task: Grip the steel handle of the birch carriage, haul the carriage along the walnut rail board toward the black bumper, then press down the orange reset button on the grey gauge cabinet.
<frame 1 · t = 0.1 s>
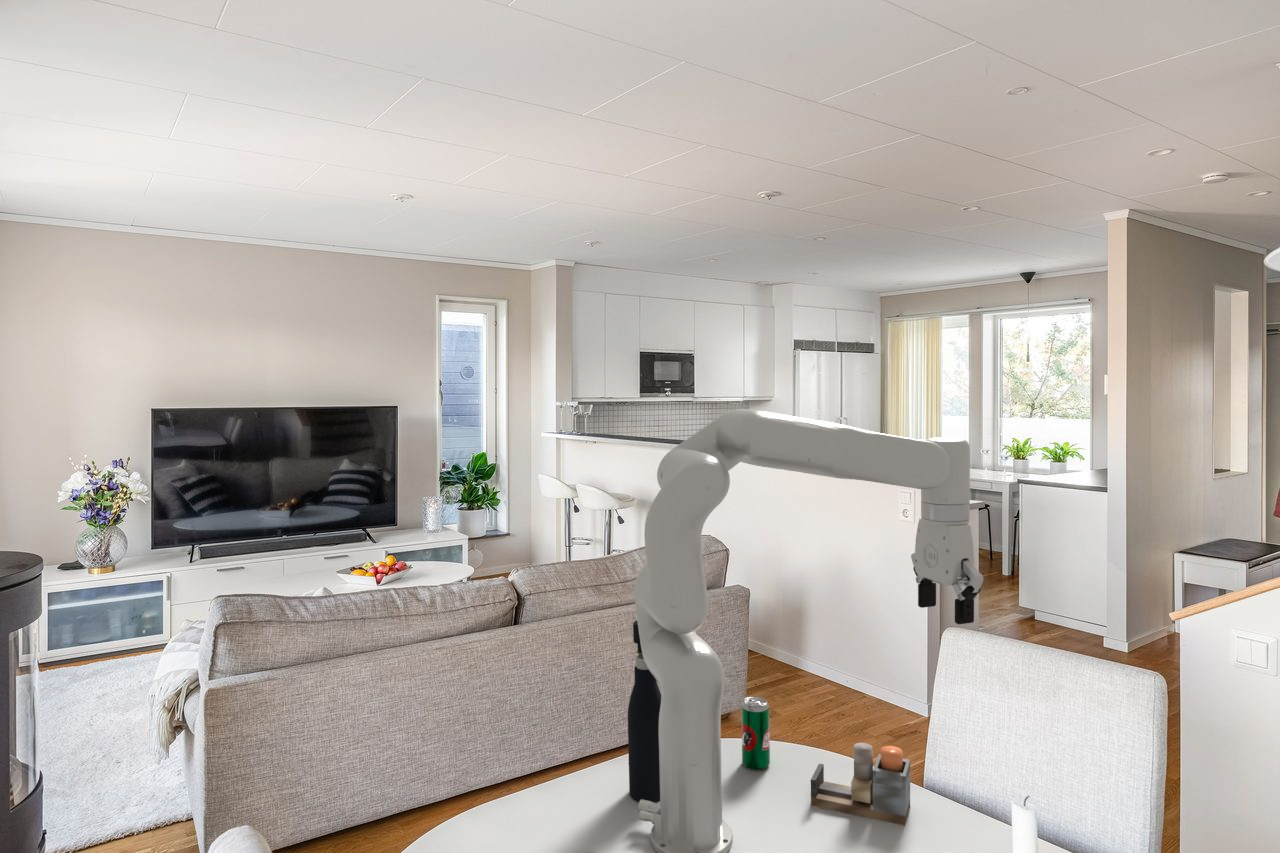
hand: (945, 614, 134), 31 cm above the table, tool pointing down, fingers open, 9 cm apart
reset button: (891, 758, 130), point 9 cm above the table, slide at 0.0 cm
wine bottle: (648, 794, 139), on the table
soda can: (756, 766, 148), on the table
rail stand: (860, 806, 133), on the table
carriage: (863, 770, 132), point 6 cm above the table, slide at 0.0 cm
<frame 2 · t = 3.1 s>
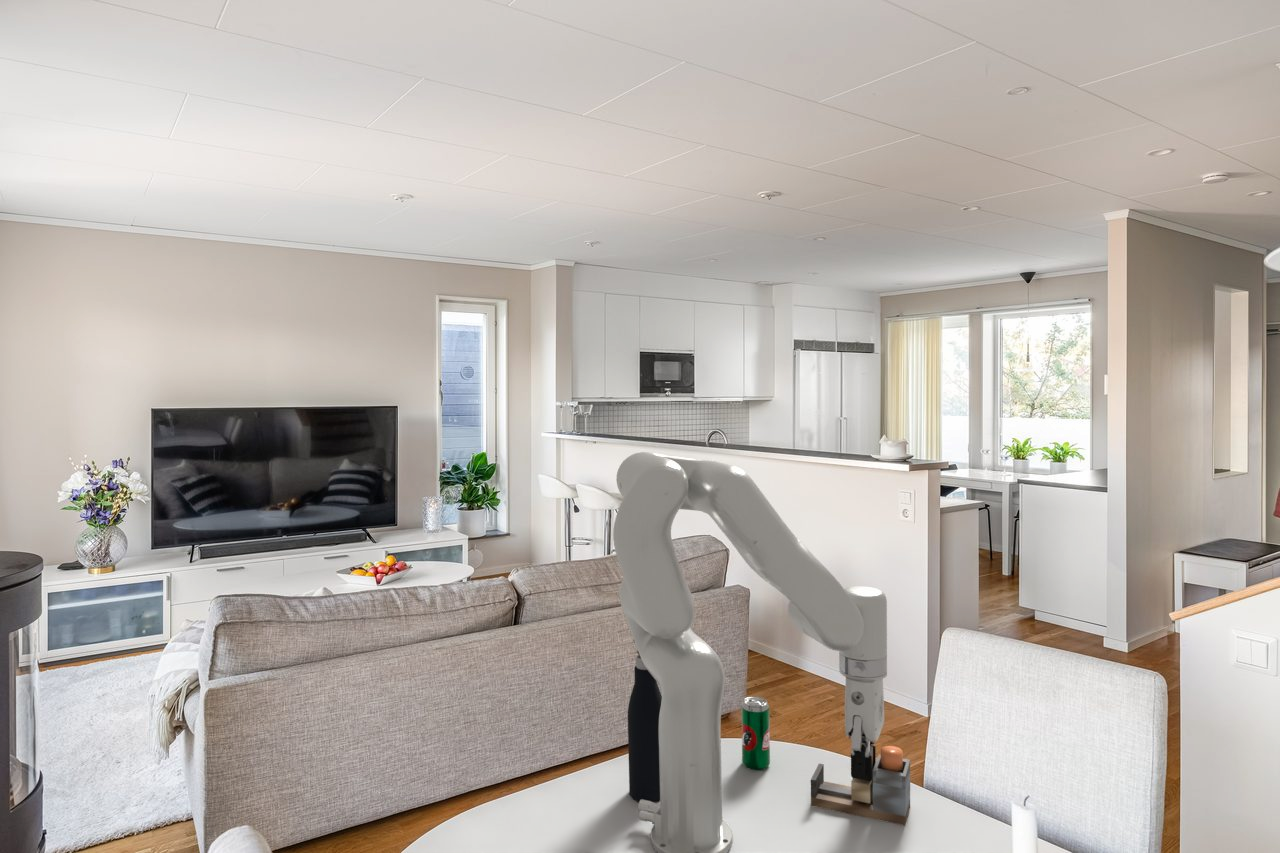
hand: (863, 772, 132), 6 cm above the table, tool pointing down, fingers closed on carriage, 3 cm apart
carriage: (863, 770, 132), point 6 cm above the table, slide at 0.0 cm, touching gripper
everything else where it was.
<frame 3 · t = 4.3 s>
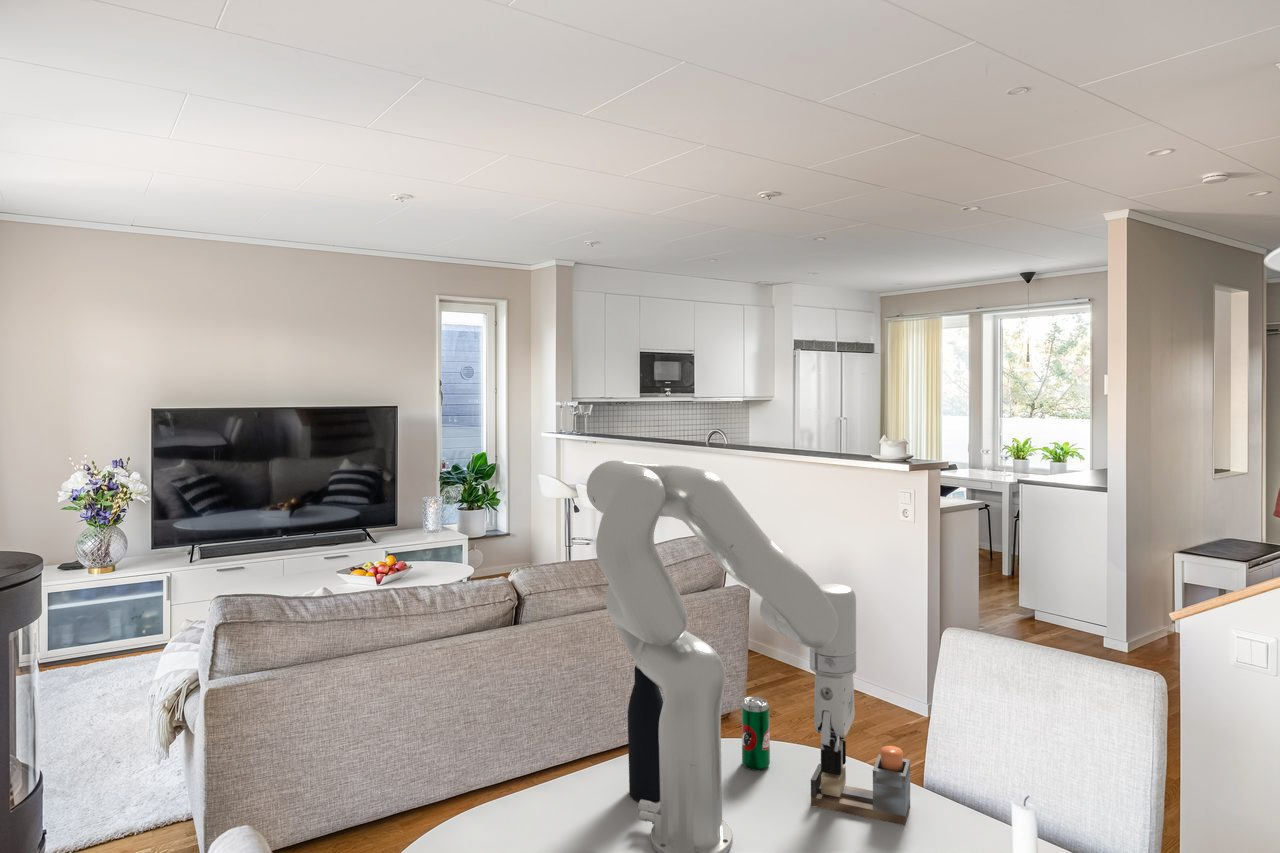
hand: (833, 766, 134), 6 cm above the table, tool pointing down, fingers closed on carriage, 3 cm apart
carriage: (833, 765, 134), point 6 cm above the table, slide at 4.9 cm, touching gripper
everything else where it was.
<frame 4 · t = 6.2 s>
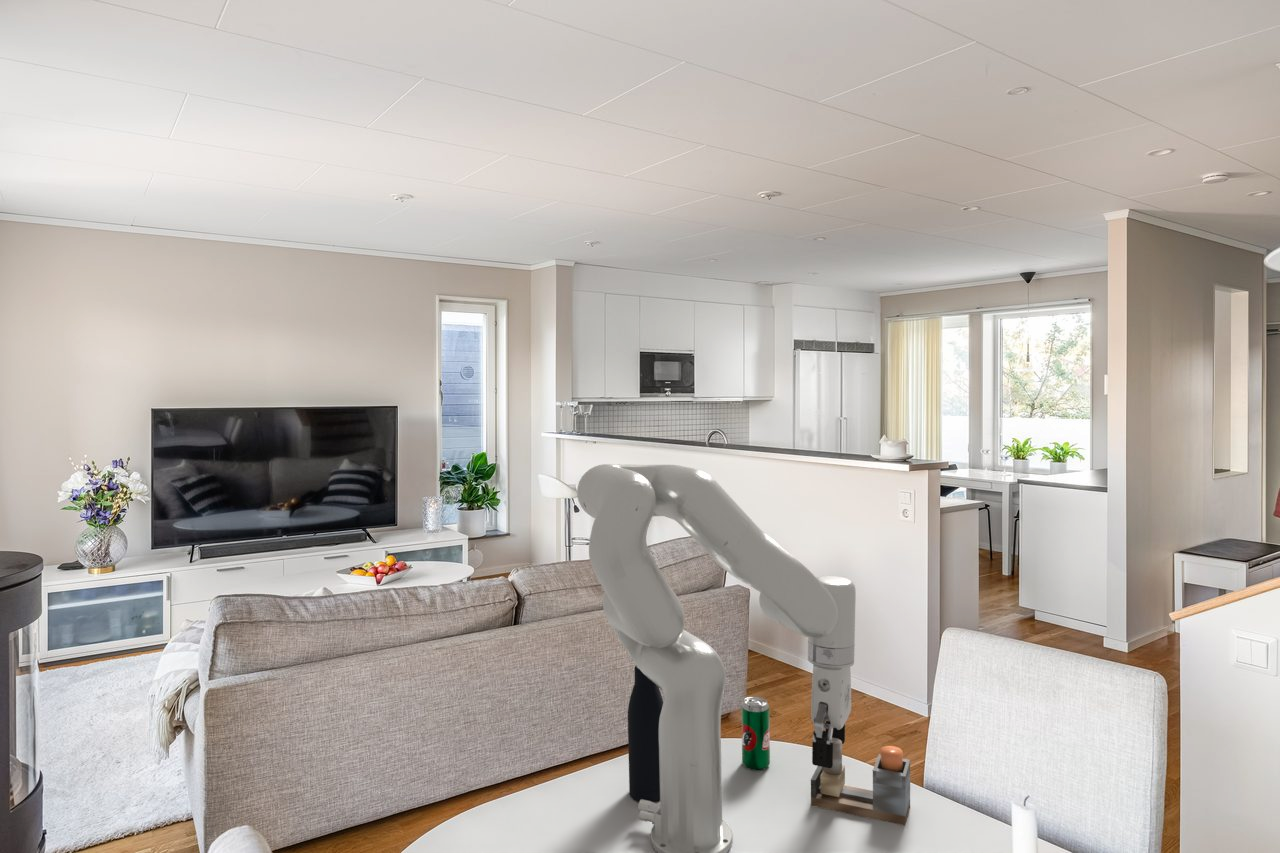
hand: (828, 753, 134), 8 cm above the table, tool pointing down, fingers open, 9 cm apart
carriage: (832, 764, 135), point 6 cm above the table, slide at 5.0 cm
everything else where it was.
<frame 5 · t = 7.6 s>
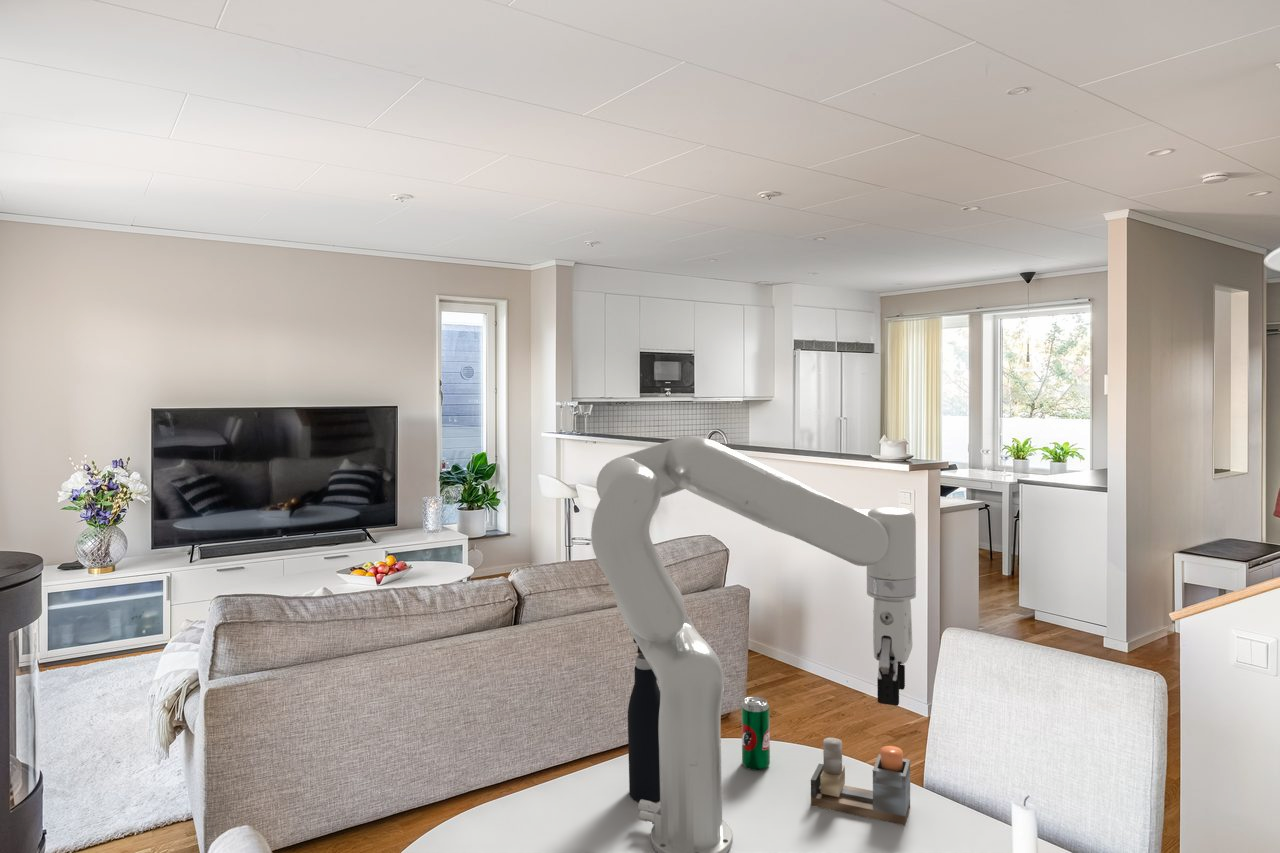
hand: (891, 694, 130), 20 cm above the table, tool pointing down, fingers open, 6 cm apart
nothing on the table moved.
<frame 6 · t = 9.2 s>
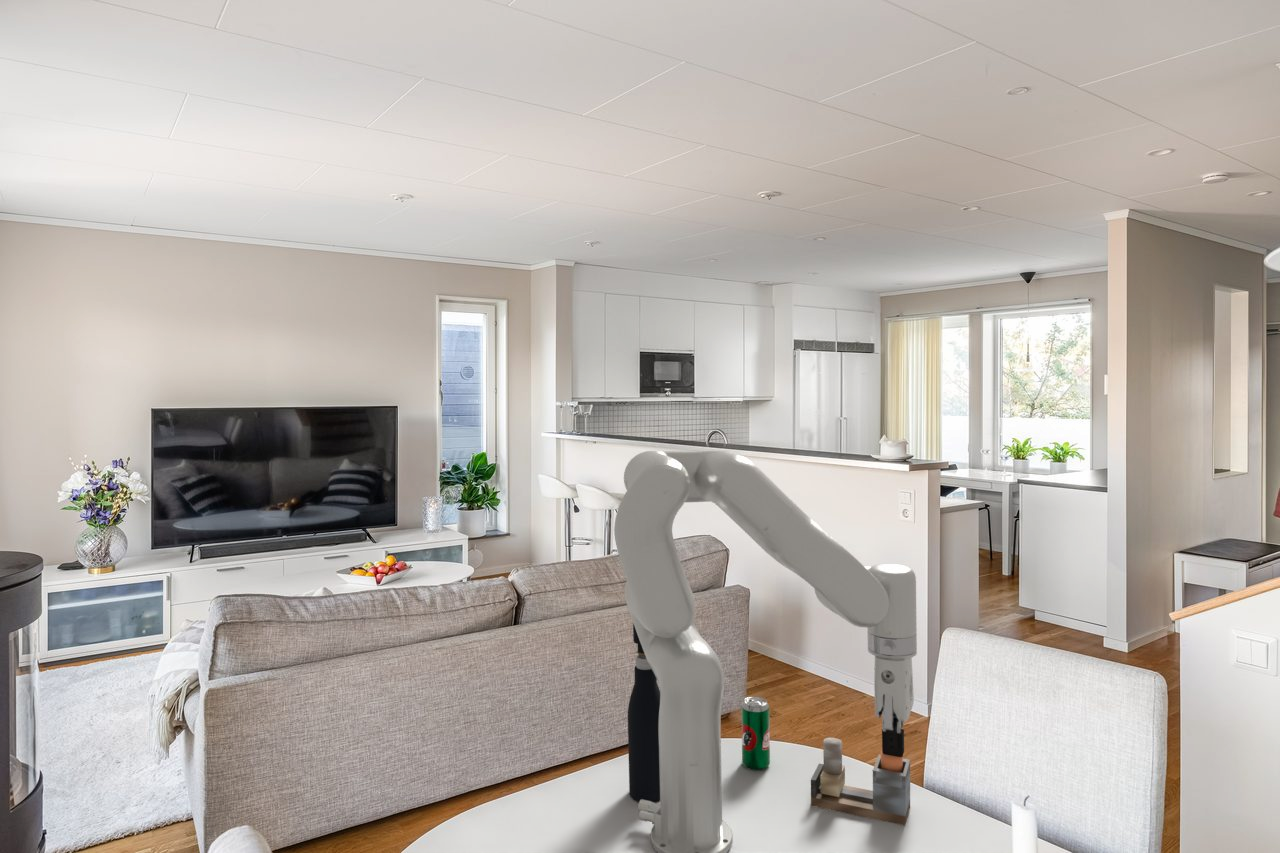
hand: (893, 753, 130), 10 cm above the table, tool pointing down, fingers closed
reset button: (891, 761, 130), point 9 cm above the table, slide at 0.6 cm, touching gripper
everything else where it was.
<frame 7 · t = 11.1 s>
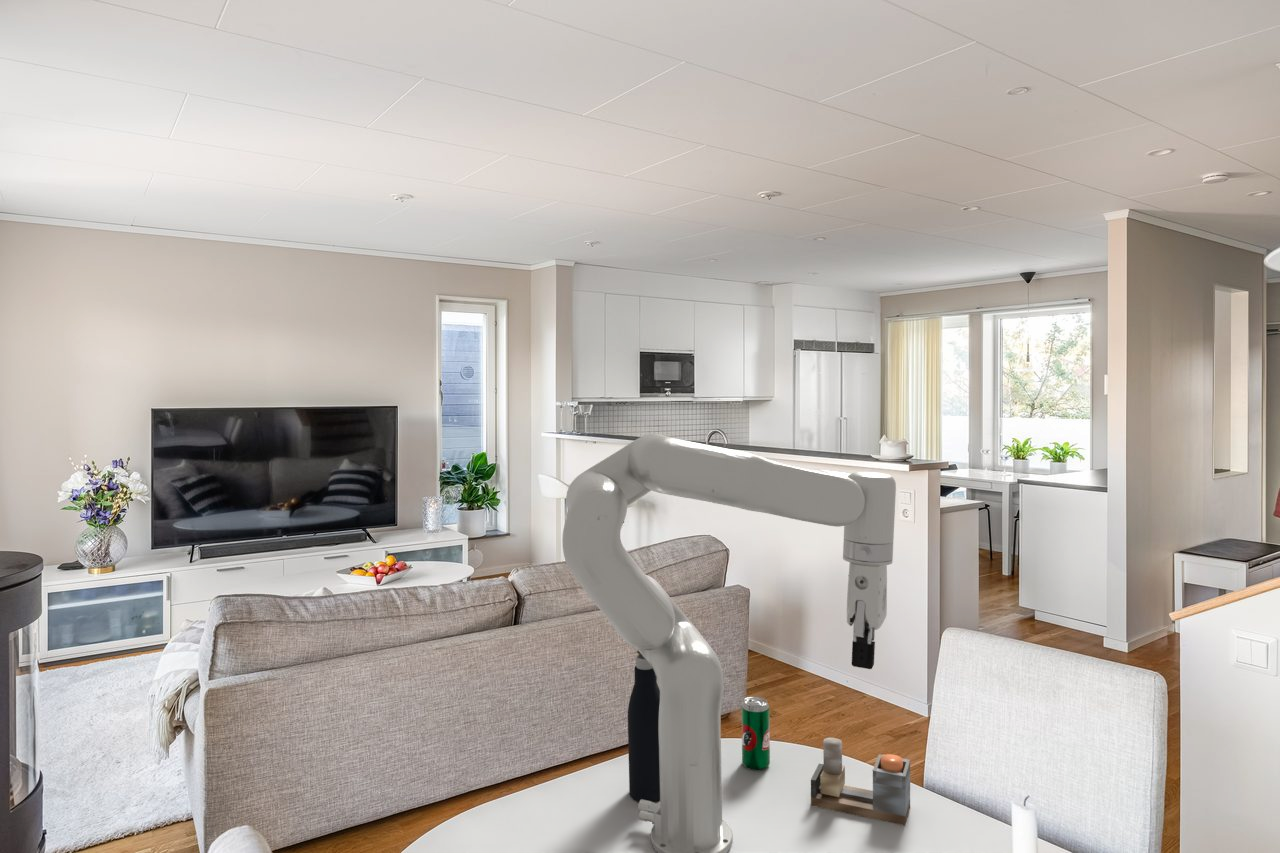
hand: (862, 666, 127), 25 cm above the table, tool pointing down, fingers closed
reset button: (891, 767, 130), point 8 cm above the table, slide at 1.4 cm
everything else where it was.
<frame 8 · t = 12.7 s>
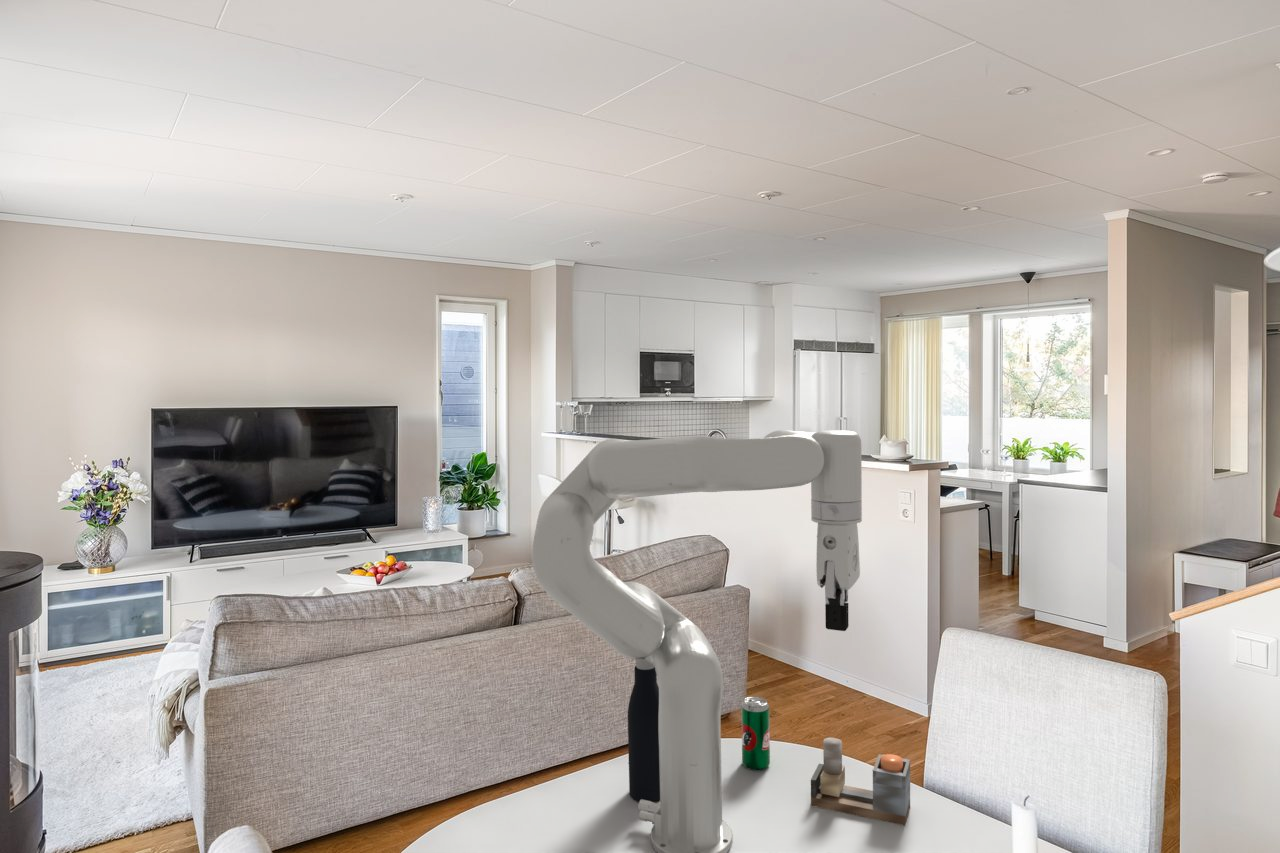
hand: (837, 628, 125), 32 cm above the table, tool pointing down, fingers closed
nothing on the table moved.
at the end: carriage slide at 5.0 cm; reset button slide at 1.4 cm; the gripper is holding nothing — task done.
